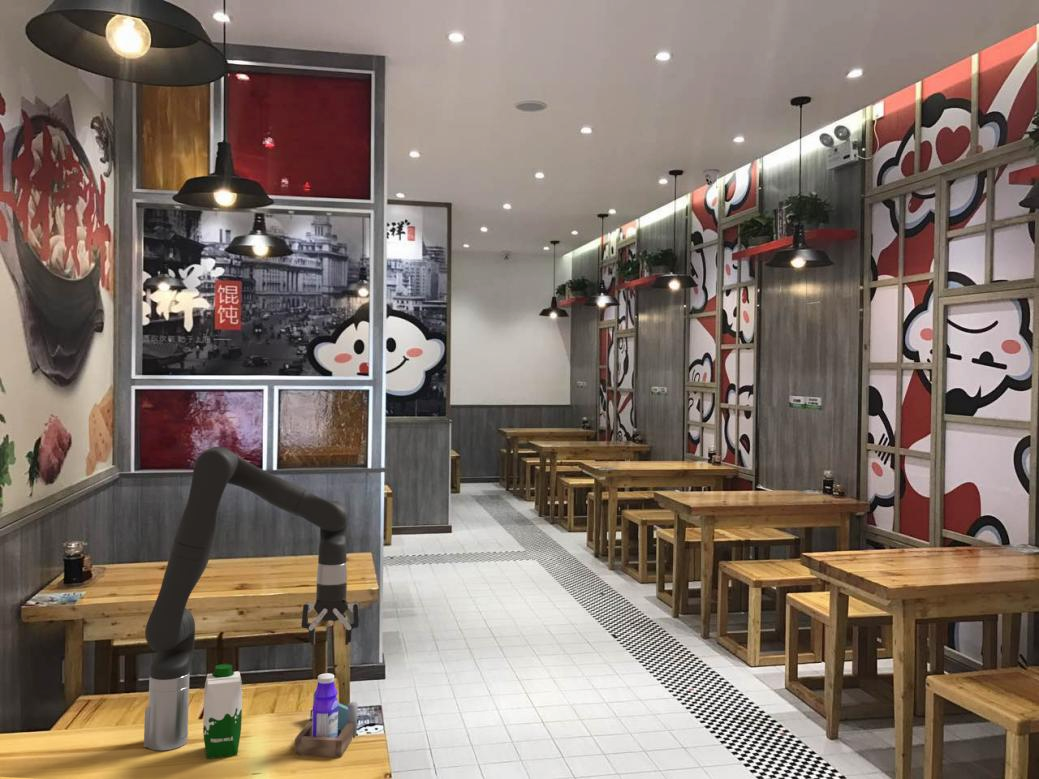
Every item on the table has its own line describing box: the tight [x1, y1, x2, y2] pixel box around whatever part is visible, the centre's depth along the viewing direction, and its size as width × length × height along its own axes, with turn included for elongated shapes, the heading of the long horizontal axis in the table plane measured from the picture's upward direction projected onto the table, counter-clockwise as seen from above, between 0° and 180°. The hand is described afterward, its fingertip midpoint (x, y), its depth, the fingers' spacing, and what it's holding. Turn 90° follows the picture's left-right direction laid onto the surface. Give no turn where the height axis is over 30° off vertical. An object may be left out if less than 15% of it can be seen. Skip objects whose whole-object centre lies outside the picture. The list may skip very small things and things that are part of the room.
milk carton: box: [202, 663, 243, 760], centre depth 201 cm, size 9×9×20 cm
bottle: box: [311, 672, 339, 738], centre depth 205 cm, size 7×6×17 cm
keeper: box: [312, 695, 358, 738], centre depth 217 cm, size 18×2×8 cm, turn 47°
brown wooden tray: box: [294, 720, 354, 758], centre depth 204 cm, size 12×11×4 cm
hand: (330, 644), depth 209 cm, fingers open, 8 cm apart
